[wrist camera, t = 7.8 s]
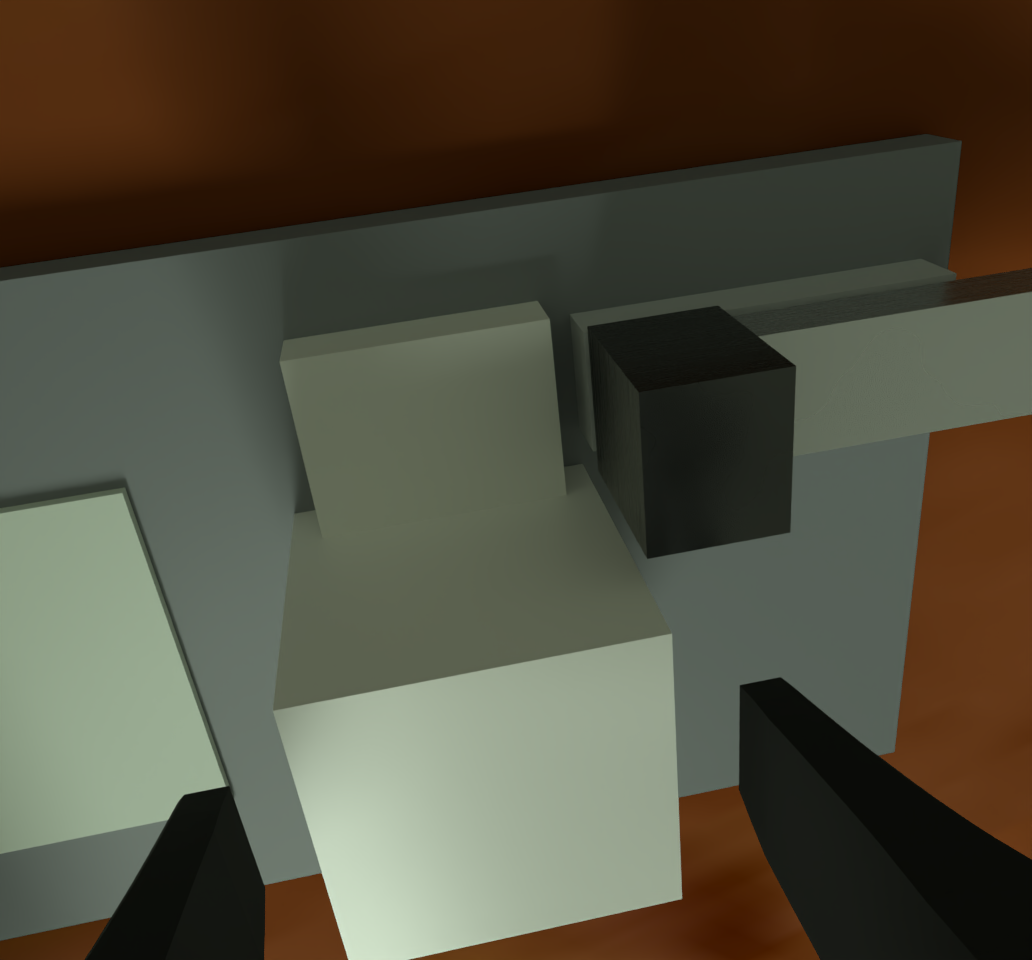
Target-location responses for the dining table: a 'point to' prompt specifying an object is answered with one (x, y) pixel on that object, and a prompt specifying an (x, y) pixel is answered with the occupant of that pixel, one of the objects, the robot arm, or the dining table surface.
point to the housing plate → (286, 491)
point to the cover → (466, 647)
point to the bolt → (792, 396)
